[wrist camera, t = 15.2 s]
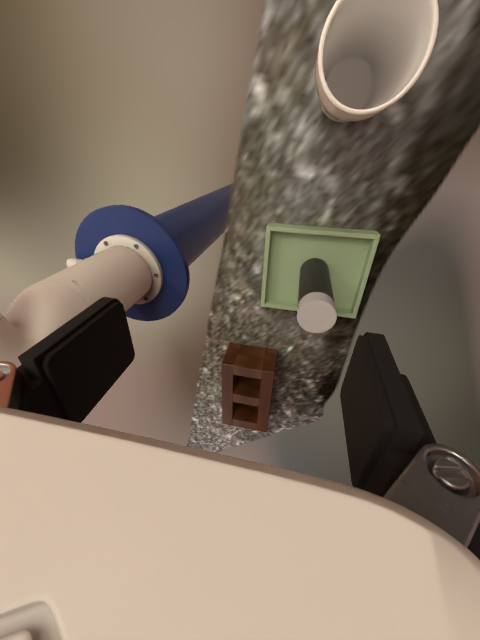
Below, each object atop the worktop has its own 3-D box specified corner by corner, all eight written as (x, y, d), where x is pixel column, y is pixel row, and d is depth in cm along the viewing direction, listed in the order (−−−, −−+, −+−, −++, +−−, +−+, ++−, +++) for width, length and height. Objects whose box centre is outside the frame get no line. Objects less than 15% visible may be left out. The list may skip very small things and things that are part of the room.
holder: (229, 400, 58) (222, 423, 53) (230, 342, 50) (221, 363, 45) (270, 407, 57) (266, 432, 52) (277, 349, 48) (274, 372, 43)
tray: (262, 300, 44) (260, 306, 42) (268, 222, 37) (266, 226, 35) (353, 311, 41) (355, 318, 40) (377, 230, 35) (380, 234, 33)
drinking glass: (365, 134, 30) (406, 123, 18) (305, 126, 31) (304, 108, 18) (392, 51, 26) (468, -38, 14) (323, 43, 27) (336, -48, 15)
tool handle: (298, 282, 40) (294, 330, 29) (302, 256, 38) (299, 298, 27) (325, 285, 40) (332, 335, 29) (331, 259, 37) (340, 303, 27)
